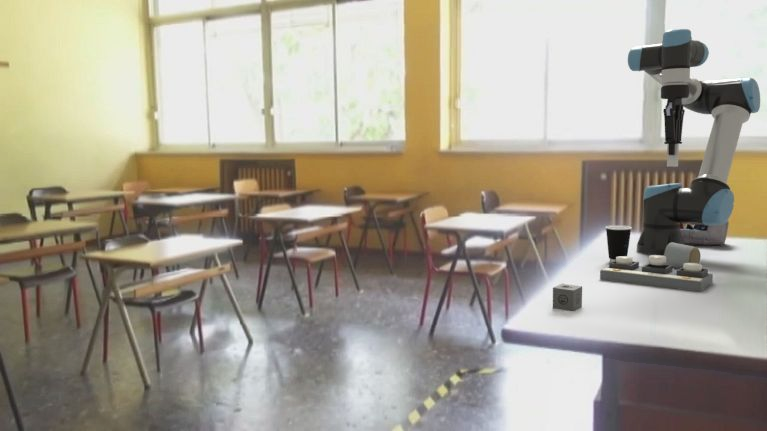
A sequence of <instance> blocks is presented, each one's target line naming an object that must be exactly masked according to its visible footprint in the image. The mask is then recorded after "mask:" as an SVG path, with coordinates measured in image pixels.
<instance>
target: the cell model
mask: <svg viewBox="0 0 767 431" xmlns="http://www.w3.org/2000/svg"><path fill="white" fill-rule="evenodd" d="M728 230H729V219H728V220H727V221H726V222H725V223H723V224H722V225H710V226H706V225H700V224H689V223H680V232H681V235H682V238H683V241H684V244H685V245H688V246H696V245H700V246H701V245H702V246H705V245H706V246H709V245H710V246H712V245H713V246H714V245H720V246H723V245H724V244H725V243H726V240H727V235H728Z"/></svg>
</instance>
